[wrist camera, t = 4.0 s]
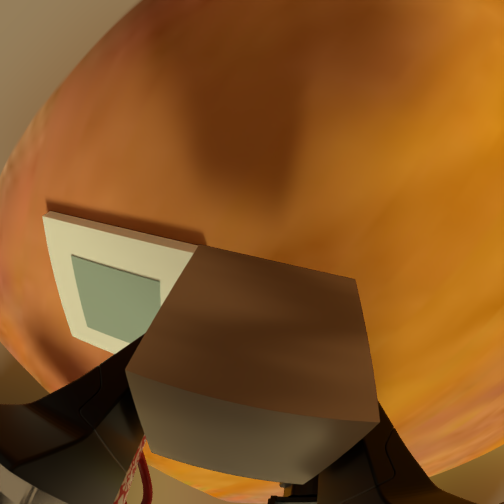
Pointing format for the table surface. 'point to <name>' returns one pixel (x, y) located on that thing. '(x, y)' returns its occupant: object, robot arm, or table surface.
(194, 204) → the table surface
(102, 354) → the table surface
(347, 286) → the walnut cube
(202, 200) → the table surface
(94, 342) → the plate
